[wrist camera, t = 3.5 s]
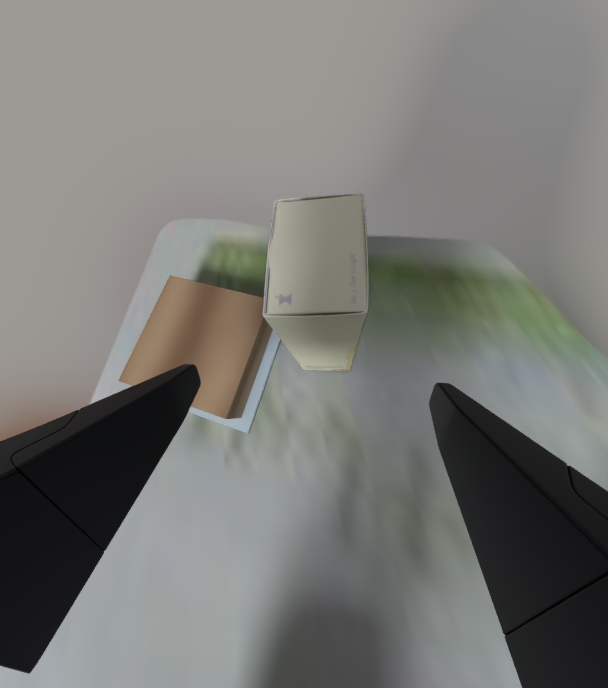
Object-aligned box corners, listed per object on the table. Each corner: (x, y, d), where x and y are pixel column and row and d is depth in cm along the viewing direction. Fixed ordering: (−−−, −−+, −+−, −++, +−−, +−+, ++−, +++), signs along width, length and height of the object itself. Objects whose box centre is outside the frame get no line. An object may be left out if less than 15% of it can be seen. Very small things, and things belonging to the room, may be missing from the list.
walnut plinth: (278, 313, 22) (270, 299, 19) (241, 417, 20) (225, 419, 17) (189, 291, 24) (170, 275, 21) (146, 384, 22) (118, 380, 19)
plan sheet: (291, 307, 23) (291, 306, 22) (249, 433, 20) (247, 433, 20) (186, 282, 25) (185, 280, 25) (135, 391, 22) (133, 391, 22)
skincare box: (351, 371, 20) (374, 321, 9) (300, 370, 21) (259, 321, 9) (350, 305, 22) (369, 188, 10) (303, 305, 23) (272, 195, 11)
